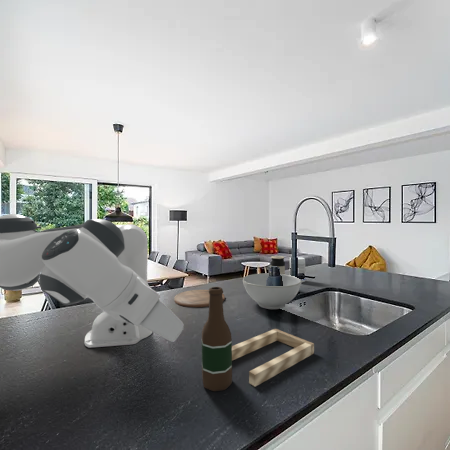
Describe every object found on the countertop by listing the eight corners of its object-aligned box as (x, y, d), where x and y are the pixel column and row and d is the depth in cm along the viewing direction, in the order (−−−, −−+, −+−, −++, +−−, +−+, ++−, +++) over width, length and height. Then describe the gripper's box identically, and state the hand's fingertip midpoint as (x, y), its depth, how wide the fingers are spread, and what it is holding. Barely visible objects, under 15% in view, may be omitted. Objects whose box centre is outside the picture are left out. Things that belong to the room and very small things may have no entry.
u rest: (255, 386, 69) (254, 374, 69) (217, 362, 81) (216, 352, 80) (313, 353, 85) (313, 343, 85) (275, 337, 97) (275, 328, 97)
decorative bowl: (257, 294, 150) (257, 271, 150) (308, 301, 136) (308, 276, 136) (232, 308, 127) (232, 281, 127) (290, 319, 113) (290, 289, 113)
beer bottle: (229, 394, 66) (228, 293, 66) (197, 390, 68) (196, 291, 67) (234, 375, 74) (233, 284, 73) (206, 372, 76) (204, 283, 75)
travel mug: (286, 290, 157) (286, 257, 156) (271, 290, 157) (271, 257, 157) (283, 286, 165) (283, 255, 164) (269, 286, 165) (269, 255, 165)
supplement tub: (308, 281, 177) (308, 257, 177) (300, 283, 171) (300, 259, 170) (294, 278, 184) (294, 256, 184) (286, 281, 178) (286, 258, 177)
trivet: (233, 303, 136) (233, 299, 136) (183, 311, 125) (183, 307, 125) (212, 290, 158) (212, 287, 158) (168, 297, 147) (168, 293, 147)
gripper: (98, 297, 62) (142, 329, 68) (135, 325, 46) (187, 363, 53) (118, 274, 64) (158, 307, 71) (159, 292, 49) (206, 333, 55)
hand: (171, 331), depth 62 cm, fingers closed
